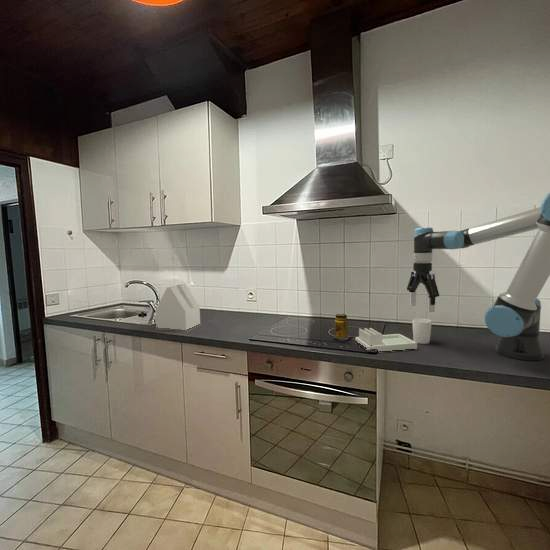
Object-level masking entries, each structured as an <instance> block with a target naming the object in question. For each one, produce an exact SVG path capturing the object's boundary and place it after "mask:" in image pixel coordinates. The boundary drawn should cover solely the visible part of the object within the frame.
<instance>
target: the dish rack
mask: <svg viewBox="0 0 550 550" xmlns="http://www.w3.org/2000/svg"><path fill="white" fill-rule="evenodd" d="M355 340H356V341H357V342H358V343H360V344H361V345H363V346H364V347H366V348H367V349H369V350H370V349H377V350H378V351H391V352H393V351H392V350H403V351H406V350H405V349H415V350H418V343H416V342H414V341H413V339H411V338H409V337H407V336H405V335H402V334H401V333H393V334H392V333H391V334H382V333H381V332H378V331H377V330H375V329H373V328H372V327H369V328H366V327H364V328H363V329H362V328H358V336H355V338H354V341H355ZM371 345H372V346H371Z"/></svg>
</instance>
